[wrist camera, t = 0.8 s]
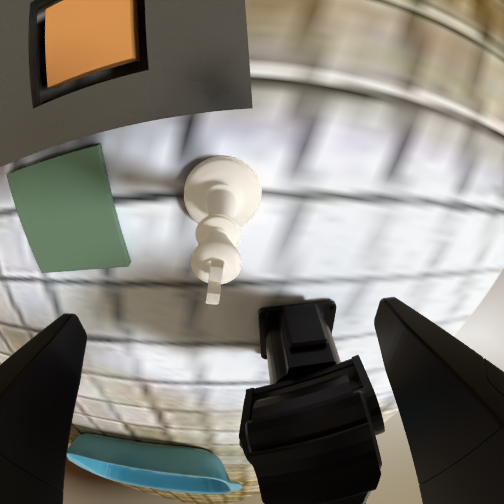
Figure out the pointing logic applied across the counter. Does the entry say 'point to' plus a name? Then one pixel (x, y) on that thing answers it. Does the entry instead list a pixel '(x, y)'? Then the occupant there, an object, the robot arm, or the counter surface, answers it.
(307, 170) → the counter surface
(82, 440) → the casserole dish
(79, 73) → the button
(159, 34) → the breaker guard
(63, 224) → the mat
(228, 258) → the chess piece
